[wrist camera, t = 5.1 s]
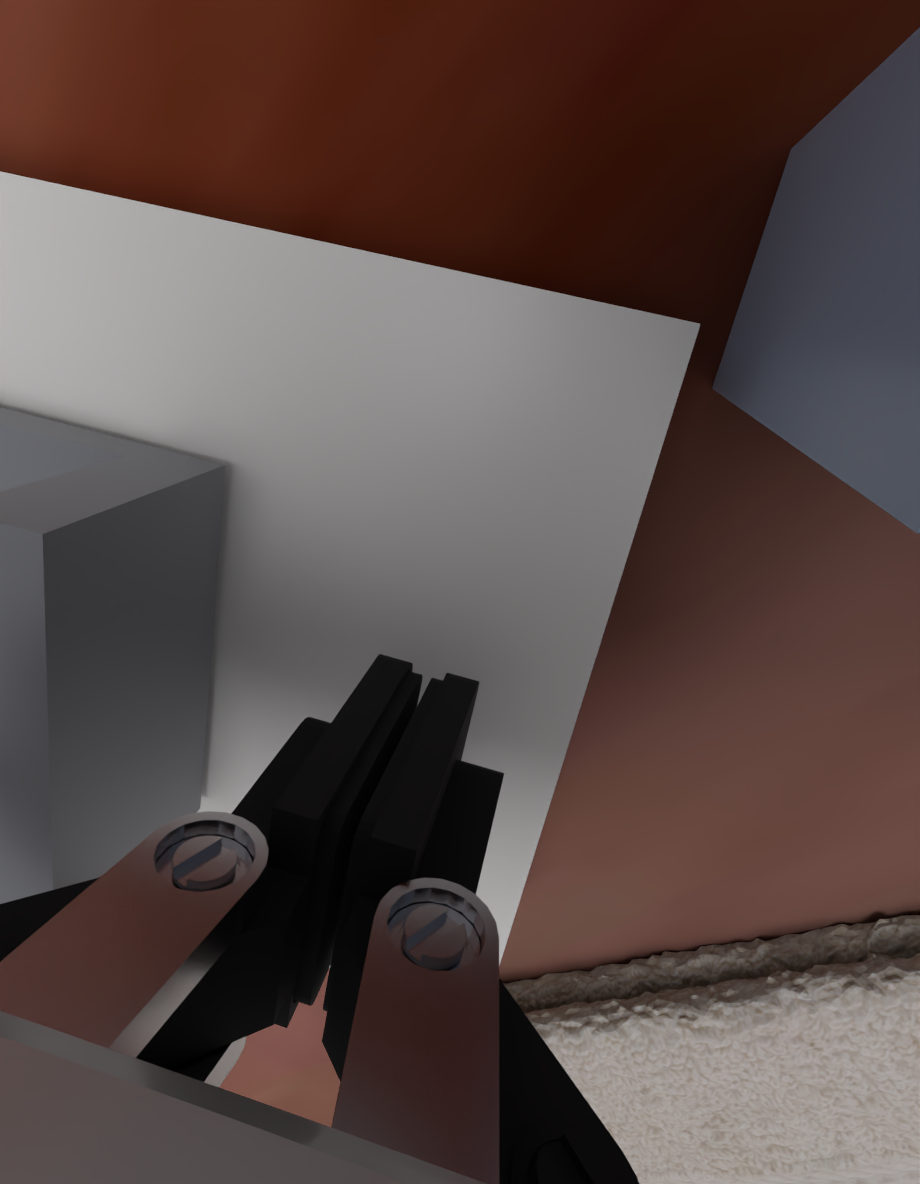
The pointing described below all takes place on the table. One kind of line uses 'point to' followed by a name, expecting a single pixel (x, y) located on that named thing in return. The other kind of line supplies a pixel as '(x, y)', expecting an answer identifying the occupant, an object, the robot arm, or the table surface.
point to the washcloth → (750, 1056)
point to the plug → (843, 295)
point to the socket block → (359, 466)
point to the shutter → (99, 645)
